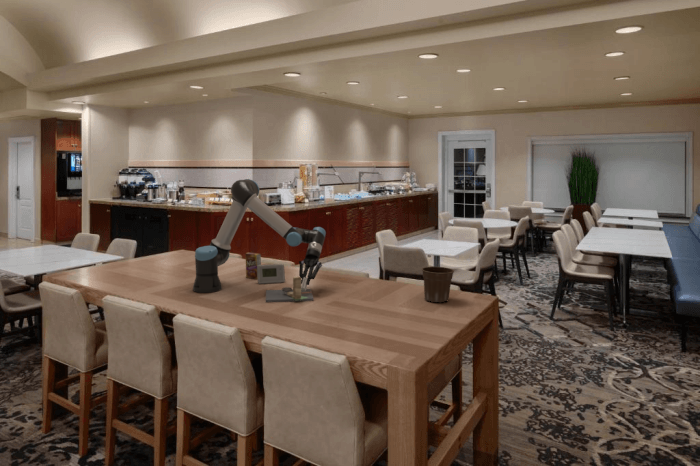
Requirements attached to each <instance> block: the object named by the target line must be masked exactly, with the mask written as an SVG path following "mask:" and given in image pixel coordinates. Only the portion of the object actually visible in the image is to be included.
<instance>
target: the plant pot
mask: <svg viewBox="0 0 700 466" xmlns="http://www.w3.org/2000/svg"><path fill="white" fill-rule="evenodd" d="M421 271H422V278H423V289H424V292H423V293H424V301H426V300H427V301H426V302H430V301H431V302H430V303H433V302H444V301H447V300H448V301H449V299H450V291H451V284H452V280H453V275H454V273H455V270H454V269H453V268H450V267H445V266H444V267H443V266H426V267H422V268H421ZM444 303H445V302H444Z"/></svg>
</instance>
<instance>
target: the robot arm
mask: <svg viewBox="0 0 700 466" xmlns="http://www.w3.org/2000/svg"><path fill="white" fill-rule="evenodd" d="M230 194H231V199H232V202H231V205H230V207H229V209H228V211H227V213H226V216H225V217H224V220H223V222H222V225H221V226H220V228H219V231H218V233H217V235H216V237H215V238H213V239H211V241H210V244H209V245H204V246H200V247H198V248H195V249H196V250H195V251H194V253H195V254H194V261H195V263H194V264H195V279H194V282H193V285H192V291H193V292H194V293H201V294H202V293H203V294H206V293H215V292H219V291H221V290H222V288H223V287H222V283H221V279H220V278H219V277H220V276H219V268H218V267H219V266H222V265H224V264H225V263H227V261H228V260H229V258H230V251H231V249H232V247H231V243H232V241H233V238H234V236H236V235H235V234H236V232H237V231H238V228H239V226H240V224H241V222H242V220H243V217H244V215H245V213H246V212H247V209H248V210H250V211H251V212H253V213H254V215H256V216H257V217H259V219H261V220H262V221H263V222H264V223H265V224H266V225H268V226H269V227H270V228H271V229H273V230H274V231H275V232H276V233H277V234H279V236H280V237H282V238H283V239H284V240H285V241H286V243H287V245H289V246H290V247H297V246H299V245H300V244H302V243H303V244H308V247H307V250H306V254H305V257H304V259H303V260H299V261H298V264H299V272H298V274H299V275H298V276H299V277H301V290H302V291H306V289H308V286H309V285H310V283H311V280H315V278H316V276H317V275H318V272H319V271H320V269H321V268H322V267H323V263H322V262H320V261H319V260H320V257H321V253H322V249H323V246H324V243H325V240H326V234H327V232H326V230H325V229H324V228H323V227H321V226H315V227H313V229H305V228H299V227H293V225H291V223H288V222H287V221H286V220H285V219H284V218H283V217H282V216H280V215H279V214H278V213H277V212H275V210H273V209H272V208H271V207H270V206H269V205H268V204H266V203H265V202H264V201H263V200H262V199H260V198H259V197H258V196H259V194H260V186H259V185H258V183H257V181H255V180H254V179H251V178H246V179H239V180H236V181H235V182H233V184H232V185H231V188H230ZM304 265H305V266H304Z"/></svg>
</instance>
